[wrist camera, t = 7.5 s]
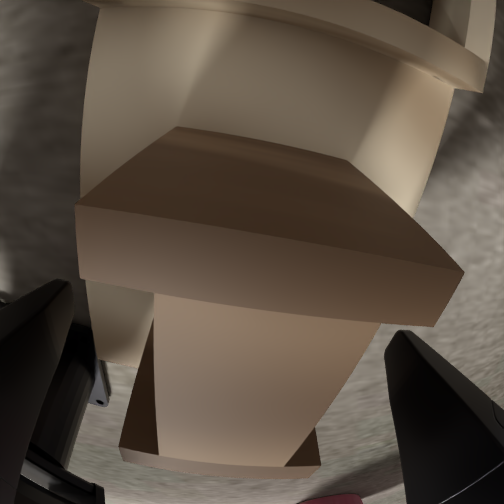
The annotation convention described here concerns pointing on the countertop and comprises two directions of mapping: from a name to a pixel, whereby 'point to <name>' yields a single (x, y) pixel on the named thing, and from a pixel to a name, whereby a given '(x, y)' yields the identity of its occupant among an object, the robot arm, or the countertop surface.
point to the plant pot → (336, 499)
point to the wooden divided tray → (260, 210)
